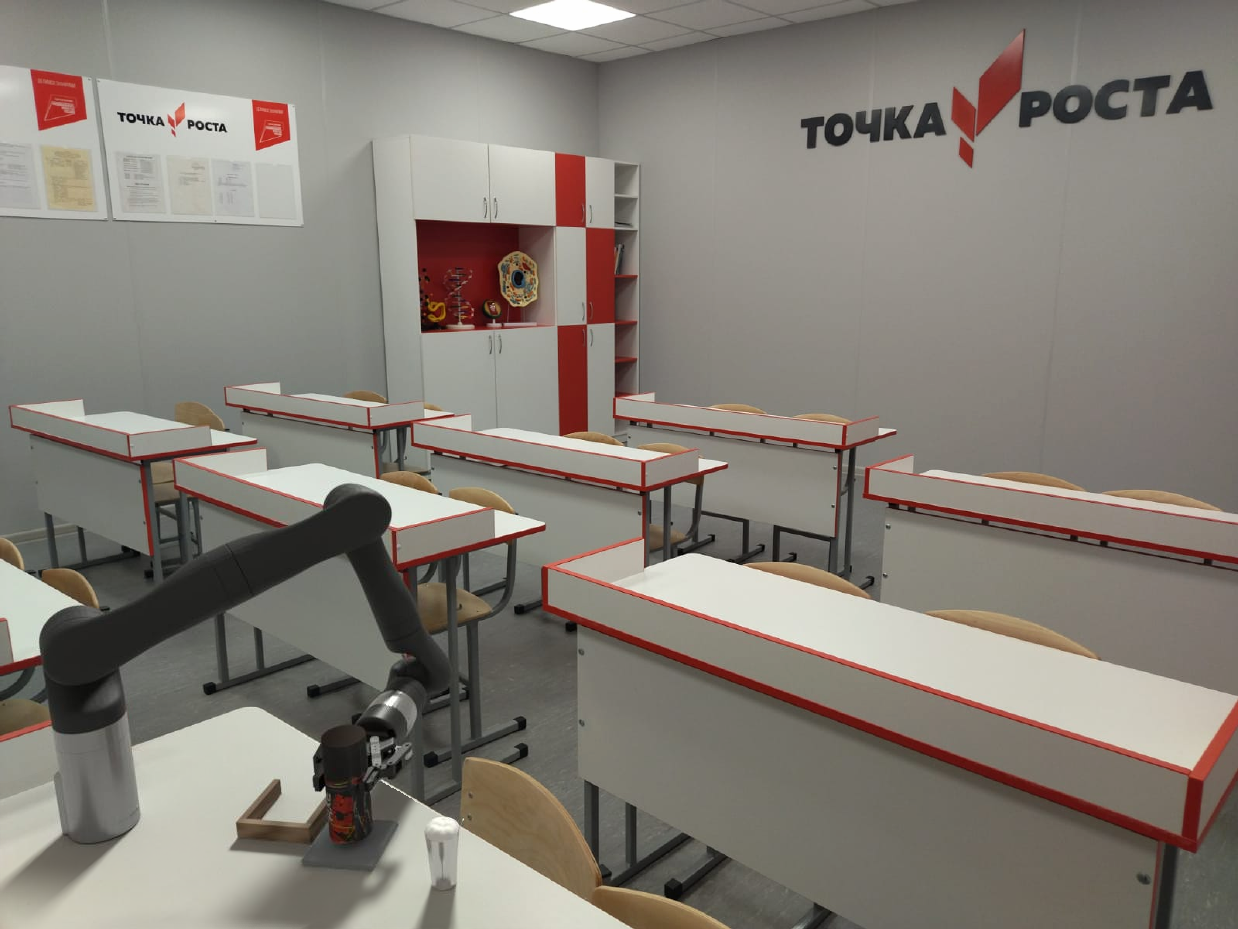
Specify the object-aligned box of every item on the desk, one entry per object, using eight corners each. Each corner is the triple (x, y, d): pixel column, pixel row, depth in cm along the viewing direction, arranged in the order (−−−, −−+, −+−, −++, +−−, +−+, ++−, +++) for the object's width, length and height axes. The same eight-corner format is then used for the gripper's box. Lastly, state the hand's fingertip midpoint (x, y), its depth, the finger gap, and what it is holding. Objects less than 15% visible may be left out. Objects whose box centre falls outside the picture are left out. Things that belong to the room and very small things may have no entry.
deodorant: (381, 825, 126) (374, 731, 123) (350, 849, 121) (342, 752, 118) (352, 813, 129) (344, 720, 126) (320, 835, 124) (311, 740, 121)
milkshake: (460, 897, 115) (456, 830, 113) (421, 891, 116) (417, 824, 114) (472, 874, 120) (469, 809, 117) (435, 869, 121) (431, 804, 118)
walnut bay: (237, 837, 127) (235, 822, 127) (275, 793, 138) (274, 779, 137) (310, 843, 126) (308, 828, 125) (342, 798, 136) (341, 784, 136)
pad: (301, 865, 121) (301, 860, 121) (333, 820, 131) (333, 815, 131) (371, 871, 120) (371, 866, 120) (398, 825, 130) (397, 821, 130)
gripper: (339, 699, 137) (287, 760, 121) (428, 705, 135) (387, 767, 119) (343, 743, 139) (291, 808, 123) (431, 749, 137) (391, 816, 121)
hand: (339, 787), depth 121 cm, fingers closed on deodorant, 6 cm apart
